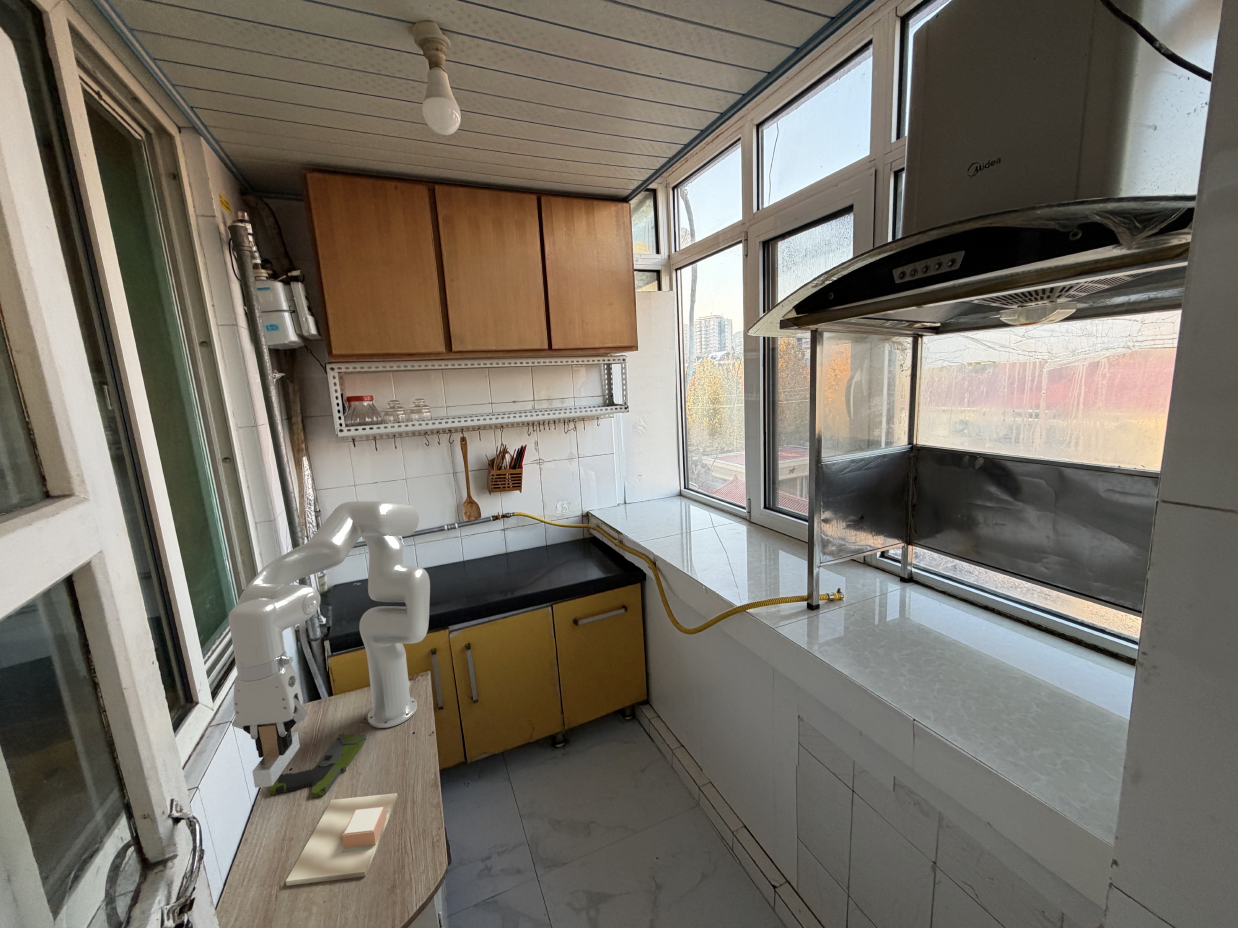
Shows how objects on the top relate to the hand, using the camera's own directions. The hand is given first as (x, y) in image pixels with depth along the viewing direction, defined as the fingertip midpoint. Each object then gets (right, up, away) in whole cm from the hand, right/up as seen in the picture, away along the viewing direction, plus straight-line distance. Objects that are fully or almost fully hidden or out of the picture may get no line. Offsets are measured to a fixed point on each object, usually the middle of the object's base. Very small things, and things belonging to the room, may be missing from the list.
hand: (275, 750), depth 96 cm
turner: (0, -4, +1) cm, 4 cm away
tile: (+16, -19, +4) cm, 25 cm away
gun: (-6, -18, +24) cm, 31 cm away
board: (+12, -20, +5) cm, 24 cm away
